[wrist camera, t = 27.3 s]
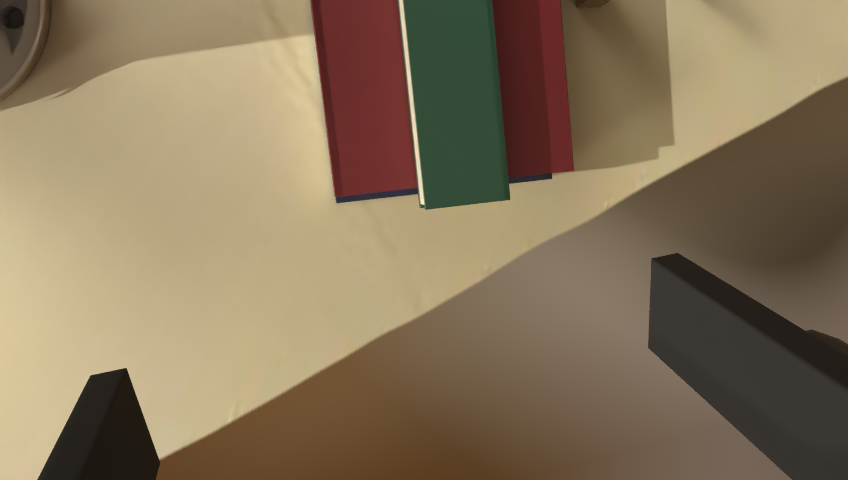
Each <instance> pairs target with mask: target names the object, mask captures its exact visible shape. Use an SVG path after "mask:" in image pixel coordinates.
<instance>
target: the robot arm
mask: <svg viewBox="0 0 848 480" xmlns="http://www.w3.org/2000/svg"><path fill="white" fill-rule="evenodd" d="M49 24H50V0H0V100H2V99H3V98H5V97H6V96H8V95H9V94H10V93H11V92H13V91H14V90H15V89H16V88H17V87H18V86H19V85H20V84H21V83H22V82H23V81H24V80H25V79H26V78H27V76H28V75H29V74H30V73H31V71H32V70H33V68H34V67H35V65H36V63H37V61H38V59H39V57H40V56H41V54H42V51H43V48H44V46H45V43H46V39H47V35H48V31H49ZM649 315H650V316H649V341H648V348H649V349H650V350H651V351H652V352H653V353H655V354H656V355H657V356H658V357H659V358H660V359H661V360H662V361H663V362H664V363H665V364H666V365H668V366H669V367H670V368H671V369H672V370H673V371H674V372H675V373H676V374H677V375H678V376H680V377H681V378H682V379H683V380H684V381H685V382H686V383H687V384H688V385H690V386H691V387H692V388H693V389H694V390H695V391H696V392H697V393H698V394H699V395H700V396H701V397H703V398H704V399H705V400H706V401H707V402H708V403H709V404H710V405H711V406H712V407H713V408H715V409H716V410H717V411H718V412H719V413H720V414H721V415H722V416H723V417H724V418H725V419H727V420H728V421H729V422H730V423H731V424H732V425H733V426H734V427H735V428H736V429H737V430H739V431H740V432H741V433H742V434H743V435H744V436H745V437H746V438H747V439H749V441H751V442H752V443H753V444H754V445H755V446H756V447H757V448H758V449H759V450H760V451H762V452H763V453H764V454H765V455H766V456H767V457H768V458H769V459H770V460H771V461H773V462H774V463H775V464H776V465H777V466H778V467H779V468H780V469H781V470H782V471H783V472H784V473H786V474H787V475H788V476H789V477H790V478H791V479H792V480H848V344H847V343H845V342H843V341H841V340H840V339H837V338H834V337H831V336H829V335H826V334H823V333H820V332H817V331H814V330H808V331H804V330H803V329H801V328H800V327H798V326H796V325H795V324H793V323H791V322H790V321H788V320H787V319H785V318H783V317H781V316H780V315H778V314H777V313H775V312H773V311H772V310H770V309H769V308H767V307H765V306H764V305H762V304H760V303H759V302H757V301H755V300H754V299H752V298H750V297H749V296H747V295H745V294H744V293H742V292H741V291H739V290H737V289H736V288H734V287H732V286H731V285H729V284H728V283H726V282H724V281H722V280H721V279H719V278H718V277H716V276H715V275H713V274H711V273H710V272H708V271H706V270H705V269H703V268H701V267H700V266H698V265H697V264H695V263H693V262H692V261H690V260H688V259H686V258H685V257H683V256H682V255H680V254H679V253H676V254H671V255H666V256H661V257H657V258H652V261H651V288H650V314H649ZM159 465H160V461H159V459H158V456H157V453H156V450H155V447H154V444H153V442H152V439H151V436H150V433H149V430H148V428H147V425H146V422H145V419H144V416H143V413H142V411H141V408H140V405H139V402H138V399H137V397H136V394H135V391H134V388H133V385H132V382H131V380H130V377H129V374H128V371H127V368H124V369H119V370H115V371H110V372H105V373H100V374H95V375H91V376H90V378H89V380H88V381H87V383H86V385H85V387H84V389H83V391H82V393H81V395H80V397H79V399H78V401H77V403H76V405H75V407H74V409H73V411H72V413H71V415H70V417H69V419H68V421H67V423H66V425H65V427H64V429H63V431H62V433H61V434H60V436H59V438H58V440H57V442H56V444H55V446H54V448H53V450H52V452H51V454H50V456H49V458H48V460H47V462H46V464H45V466H44V468H43V470H42V472H41V474H40V476H39V478H38V480H156V476H157V472H158V469H159Z"/></svg>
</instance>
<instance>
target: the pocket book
mask: <svg viewBox="0 0 848 480" xmlns="http://www.w3.org/2000/svg"><path fill="white" fill-rule="evenodd" d="M398 9H399V19H400V28H401V37H402V47H403V56H404V65H405V75H406V84H407V93H408V103H409V112H410V121H411V131H412V140H413V149H414V158H415V168H416V177H417V186H418V196H419V205H420V208H424V207H425V209H435V208H444V207H452V206H461V205H470V204H478V203H487V202H496V201H504V200H510V192H509V181H508V170H507V159H506V148H505V137H504V126H503V114H502V103H501V92H500V81H499V70H498V59H497V48H496V37H495V26H494V15H493V4H492V0H398Z"/></svg>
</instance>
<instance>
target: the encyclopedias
mask: <svg viewBox="0 0 848 480" xmlns="http://www.w3.org/2000/svg"><path fill="white" fill-rule="evenodd" d="M492 4H493V15H494V26H495V37H496V48H497V59H498V70H499V81H500V92H501V103H502V114H503V126H504V137H505V148H506V159H507V170H508V181H509V184H510V183H519V182H528V181H537V180H546V179H552V173H556V172H565V171H573V170H574V167H573V154H572V142H571V129H570V117H569V104H568V92H567V79H566V66H565V54H564V41H563V29H562V16H561V4H560V0H492ZM311 8H312V17H313V25H314V33H315V41H316V49H317V57H318V65H319V73H320V81H321V89H322V97H323V105H324V113H325V121H326V129H327V137H328V145H329V153H330V161H331V169H332V177H333V186H334V194H335V197H336V203H342V202H351V201H360V200H369V199H378V198H387V197H395V196H404V195H413V194H418V186H417V177H416V168H415V158H414V149H413V140H412V131H411V121H410V112H409V103H408V93H407V84H406V75H405V65H404V56H403V47H402V37H401V28H400V19H399V9H398V0H311Z"/></svg>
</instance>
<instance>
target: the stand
mask: <svg viewBox="0 0 848 480" xmlns="http://www.w3.org/2000/svg"><path fill="white" fill-rule="evenodd" d="M608 1H610V0H576V8H586V7H599V6H602V5H604V4H605V3H607V2H608Z"/></svg>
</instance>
